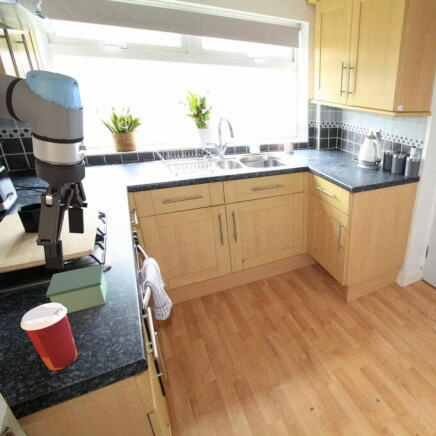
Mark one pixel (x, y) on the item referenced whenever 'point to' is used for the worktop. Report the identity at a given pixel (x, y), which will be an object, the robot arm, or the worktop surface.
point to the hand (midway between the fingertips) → (66, 248)
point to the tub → (79, 288)
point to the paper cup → (51, 334)
